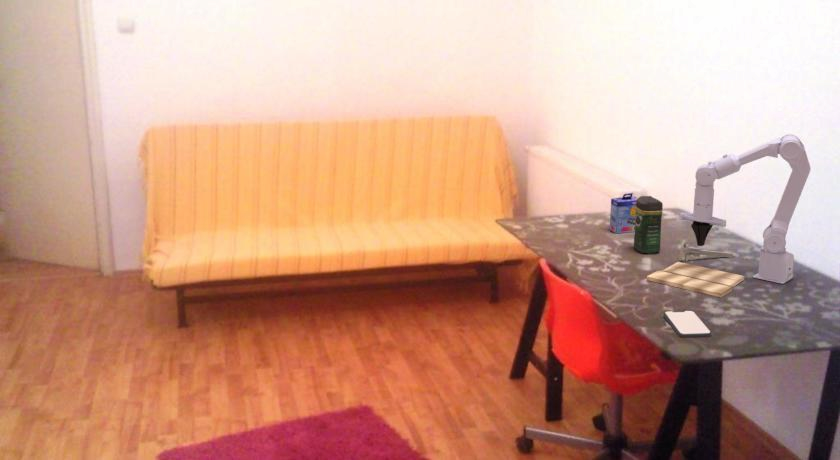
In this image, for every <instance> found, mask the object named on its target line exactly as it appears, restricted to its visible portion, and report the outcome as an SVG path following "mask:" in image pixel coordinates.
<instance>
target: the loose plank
mask: <svg viewBox="0 0 840 460" xmlns="http://www.w3.org/2000/svg"><path fill="white" fill-rule="evenodd" d="M663 271H667V272H672V273H676V274H681V275H685V276H690V277H694V278H699V279H703V280H707V281H712V282H716V283H721V284H725V285H730V286H733V288H734V287H736V286H737V285H738V284H739V283H741V282H743V281H744V280H745V275H741V274H736V273H731V272H727V271H722V270H717V269H713V268H708V267H704V266H701V265H700V266H699V265H694V264H691V263H687V262H683V261H682V262H681V261H677V262H675V263H673V264H671V265H669V266H668V267H666V268H665V269H663Z"/></svg>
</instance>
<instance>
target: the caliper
mask: <svg viewBox="0 0 840 460" xmlns="http://www.w3.org/2000/svg"><path fill="white" fill-rule="evenodd" d="M691 255H692V256H693V257H698V258H700V256H701V255H702V256H709V257H710V256H712V257H720V258H728V259H729V258H733V257H734V258H735V257H736V258H737V256H736V254H734V253H732V252H724V251H715V250H707V249H706V250H705V249H702V248H699V247H692V246H691V247H690V244H688V243H687V244H686V243H683V246H681V247H680V251H679V259H678V260H679V261H678V262H682V263H683V261H684V263H687V262H688V260H689V259H690V257H691Z"/></svg>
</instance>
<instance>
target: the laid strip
mask: <svg viewBox="0 0 840 460" xmlns="http://www.w3.org/2000/svg"><path fill="white" fill-rule="evenodd" d="M663 270H664V269H663ZM663 270H662V269H658V270H657V271H655V272H652V273H650V274H648V275H647V276H646V281H649V282H654V283H659V284H662V285H665V286H666V285H667V286H671V287H676V288H679V289H683V290H687V291H691V292H696V293H700V294H705V295H709V296H712V297H717V298H722V297H724V296H726V295H727V294H729V293H731V292H732V291H733V290H734V289H733V288H734V287H733V286H730V285H725V284H721V283H716V282H712V281H707V280H703V279H699V278H694V277H690V276H685V275H681V274H676V273H672V272H667V271H663Z"/></svg>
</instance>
